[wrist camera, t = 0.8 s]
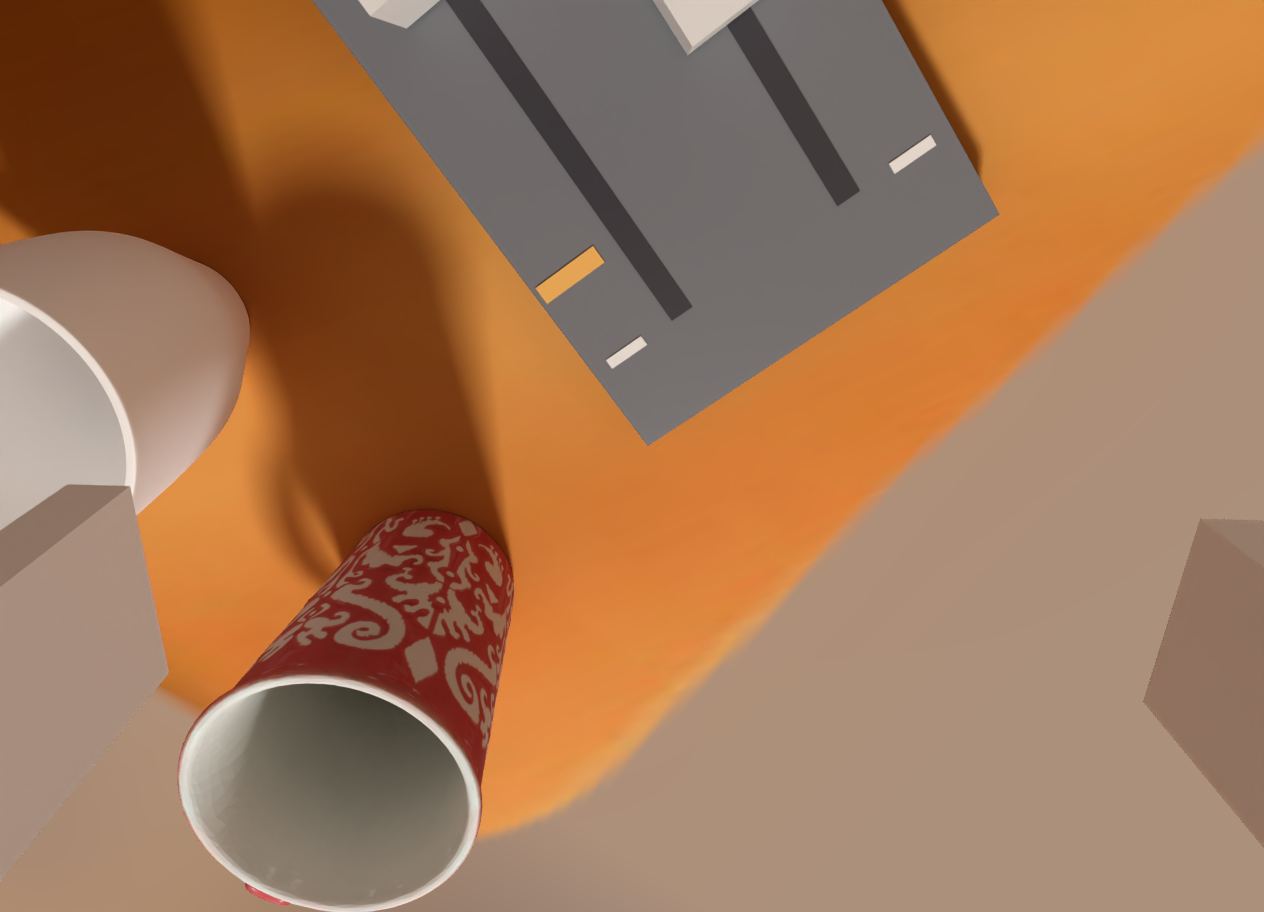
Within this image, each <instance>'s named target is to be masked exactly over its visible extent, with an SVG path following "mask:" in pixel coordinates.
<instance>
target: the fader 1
mask: <svg viewBox="0 0 1264 912" xmlns="http://www.w3.org/2000/svg"><path fill="white" fill-rule="evenodd" d="M438 1H440V0H359V2H360V3H361V5H362V6H363V7H364V9H365V10H366V11H367V13H368V14H369V15H370V16H371V17H374V18H377V19H380V20H383V21H386V22H389V23H392V24H395V25H398V26H401V27H403V28H406V29H407V28H408V27H409V26H410V25H412V24H413V23H414V22H415V21H416V20H417V19H419V18H420V17H421V16H422V15H423V14H424V13H426V12H427V11H428V10H429V9H430V8H431V7H433V6H434V5H435V4H436V3H437V2H438Z"/></svg>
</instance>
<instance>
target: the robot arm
mask: <svg viewBox="0 0 1264 912" xmlns="http://www.w3.org/2000/svg"><path fill="white" fill-rule="evenodd" d="M168 673H169V671H168V666H167V661H166V656H165V651H164V647H163V642H162V637H161V632H160V627H159V623H158V618H157V613H156V608H155V603H154V599H153V594H152V589H151V584H150V579H149V575H148V570H147V565H146V560H145V555H144V550H143V546H142V541H141V536H140V531H139V526H138V522H137V517H136V512H135V507H134V502H133V498H132V493H131V488H130V486H110V485H77V484H67V485H65V486H64V487H62V488H61V489H60V490H58V491H57V492H55V493H54V494H52V495H51V496H49V497H48V498H46V499H45V500H44V501H42V502H41V503H39V504H38V505H36V506H35V507H33V508H32V509H30V510H29V511H28V512H26V513H25V514H23V515H22V516H20V517H19V518H17V519H16V520H15V521H13V522H12V523H10V524H9V525H7V526H6V527H4V528H3V529H1V530H0V882H1V880H2V879H3V878H4V877H5V875H6V874H7V873H8V872H9V870H10V869H11V868H12V867H13V866H14V864H15V863H16V862H17V861H18V859H19V858H20V857H21V856H22V854H23V853H24V852H25V850H26V849H27V848H28V847H29V846H30V844H31V843H32V842H33V841H34V840H35V838H36V837H37V836H38V835H39V833H40V832H41V831H42V830H43V828H44V827H45V826H46V825H47V823H48V822H49V821H50V819H51V818H52V817H53V816H54V815H55V814H56V812H57V811H58V810H59V809H60V807H61V806H62V805H63V804H64V802H65V801H66V800H67V799H68V797H69V796H70V795H71V794H72V792H73V791H74V790H75V789H76V787H77V786H78V785H79V784H80V783H81V781H82V780H83V778H85V776H86V775H87V774H88V773H89V771H90V770H91V769H92V768H93V766H94V765H95V764H96V763H97V761H98V760H99V759H100V757H101V756H102V755H103V754H104V753H105V751H106V750H107V749H108V748H109V747H110V745H111V744H112V743H113V742H114V740H115V739H116V738H117V737H118V735H119V734H120V733H121V732H122V730H123V729H124V728H125V727H126V726H127V724H128V723H129V722H130V721H131V719H132V718H133V717H134V716H135V714H136V713H137V712H138V711H139V709H140V708H141V707H142V706H143V704H144V703H145V702H146V701H147V700H148V698H149V697H150V696H151V695H152V693H153V692H154V691H155V690H156V688H157V687H158V686H159V685H160V683H161V682H162V681H163V680H164V678H165V677H166V676H167V675H168ZM1143 702H1144V703H1145V704H1146V706H1147V707H1148V708H1149V709H1150V710H1151V712H1152V713H1153V714H1154V715H1155V717H1157V719H1158V720H1159V721H1160V722H1161V724H1162V725H1163V726H1164V727H1165V729H1166V730H1167V731H1168V732H1169V733H1170V735H1171V736H1172V737H1173V738H1174V740H1175V741H1176V742H1177V743H1178V744H1179V746H1180V747H1181V748H1182V749H1183V750H1184V752H1185V753H1186V754H1187V755H1188V756H1189V758H1190V759H1191V760H1192V761H1193V762H1194V764H1195V765H1196V766H1197V767H1198V768H1199V770H1200V771H1201V772H1202V773H1203V775H1204V776H1205V777H1206V778H1207V779H1208V781H1209V782H1210V783H1211V784H1212V786H1213V787H1214V788H1215V789H1216V790H1217V792H1218V793H1219V794H1220V795H1221V796H1222V798H1223V799H1224V800H1225V801H1226V802H1227V804H1228V805H1229V806H1230V807H1231V809H1232V810H1233V811H1234V812H1235V813H1236V815H1237V816H1238V817H1239V818H1240V819H1241V821H1242V822H1243V823H1244V824H1245V825H1246V827H1247V828H1248V829H1249V830H1250V832H1251V833H1252V834H1253V835H1254V836H1255V838H1256V839H1257V840H1258V841H1259V842H1260V844H1261V845H1262V846H1263V847H1264V522H1263V521H1255V520H1254V521H1253V520H1223V519H1221V520H1220V519H1200V521H1199V524H1198V527H1197V531H1196V534H1195V537H1194V540H1193V544H1192V547H1191V550H1190V553H1189V556H1188V560H1187V563H1186V566H1185V569H1184V572H1183V576H1182V579H1181V582H1180V585H1179V589H1178V591H1177V595H1176V598H1175V601H1174V605H1173V608H1172V611H1171V614H1170V617H1169V621H1168V624H1167V627H1166V630H1165V633H1164V637H1163V640H1162V643H1161V646H1160V649H1159V653H1158V656H1157V659H1156V662H1155V665H1154V668H1153V672H1152V675H1151V678H1150V681H1149V685H1148V688H1147V691H1146V694H1145V697H1144V701H1143Z"/></svg>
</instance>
